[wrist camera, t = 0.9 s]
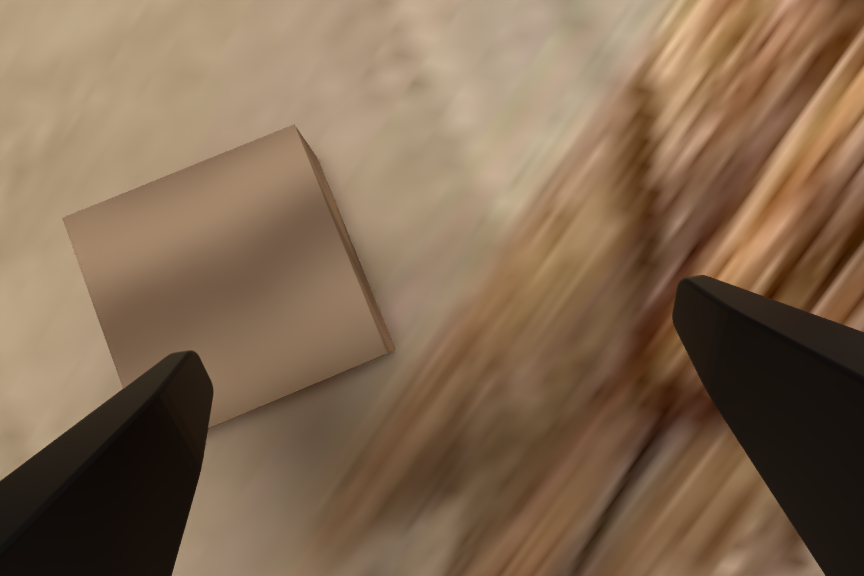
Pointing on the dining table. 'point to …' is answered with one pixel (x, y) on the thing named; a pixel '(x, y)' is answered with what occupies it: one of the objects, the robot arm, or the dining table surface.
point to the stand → (232, 275)
